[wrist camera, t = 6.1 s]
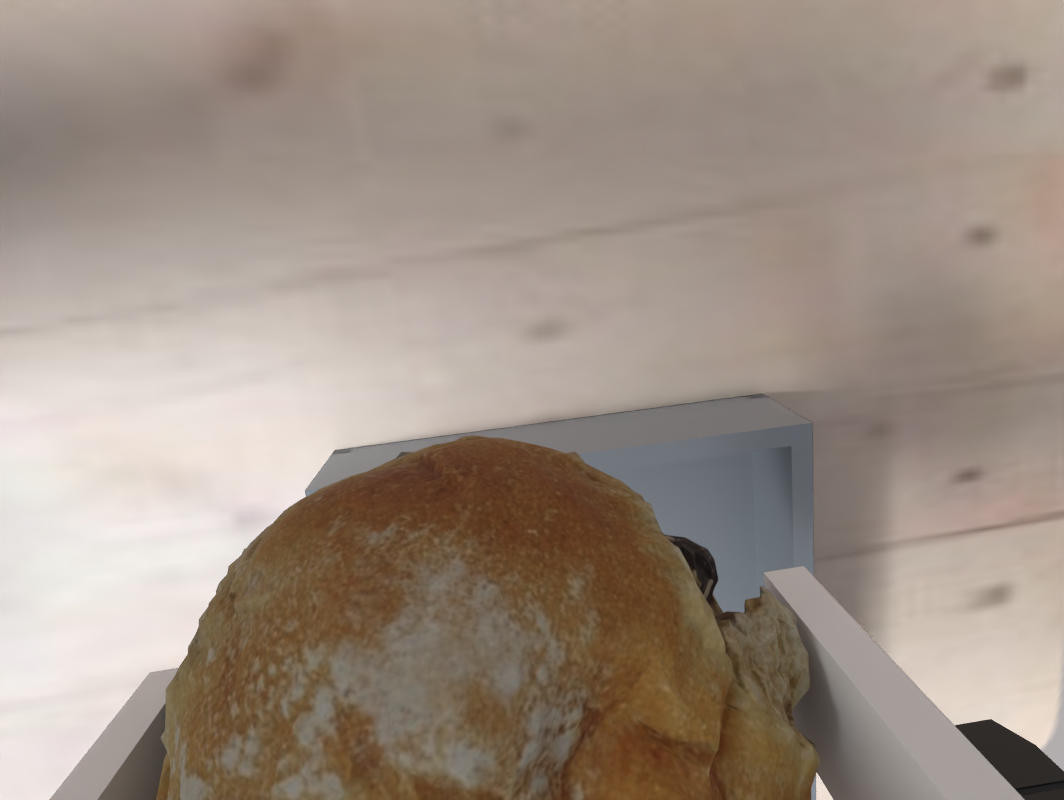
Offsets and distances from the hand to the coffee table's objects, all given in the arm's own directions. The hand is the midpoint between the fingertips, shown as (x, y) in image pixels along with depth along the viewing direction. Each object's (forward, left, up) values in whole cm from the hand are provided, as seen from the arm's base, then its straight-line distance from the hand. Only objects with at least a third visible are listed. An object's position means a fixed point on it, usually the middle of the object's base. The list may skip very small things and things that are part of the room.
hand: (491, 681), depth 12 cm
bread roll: (0, 0, -1) cm, 1 cm away
